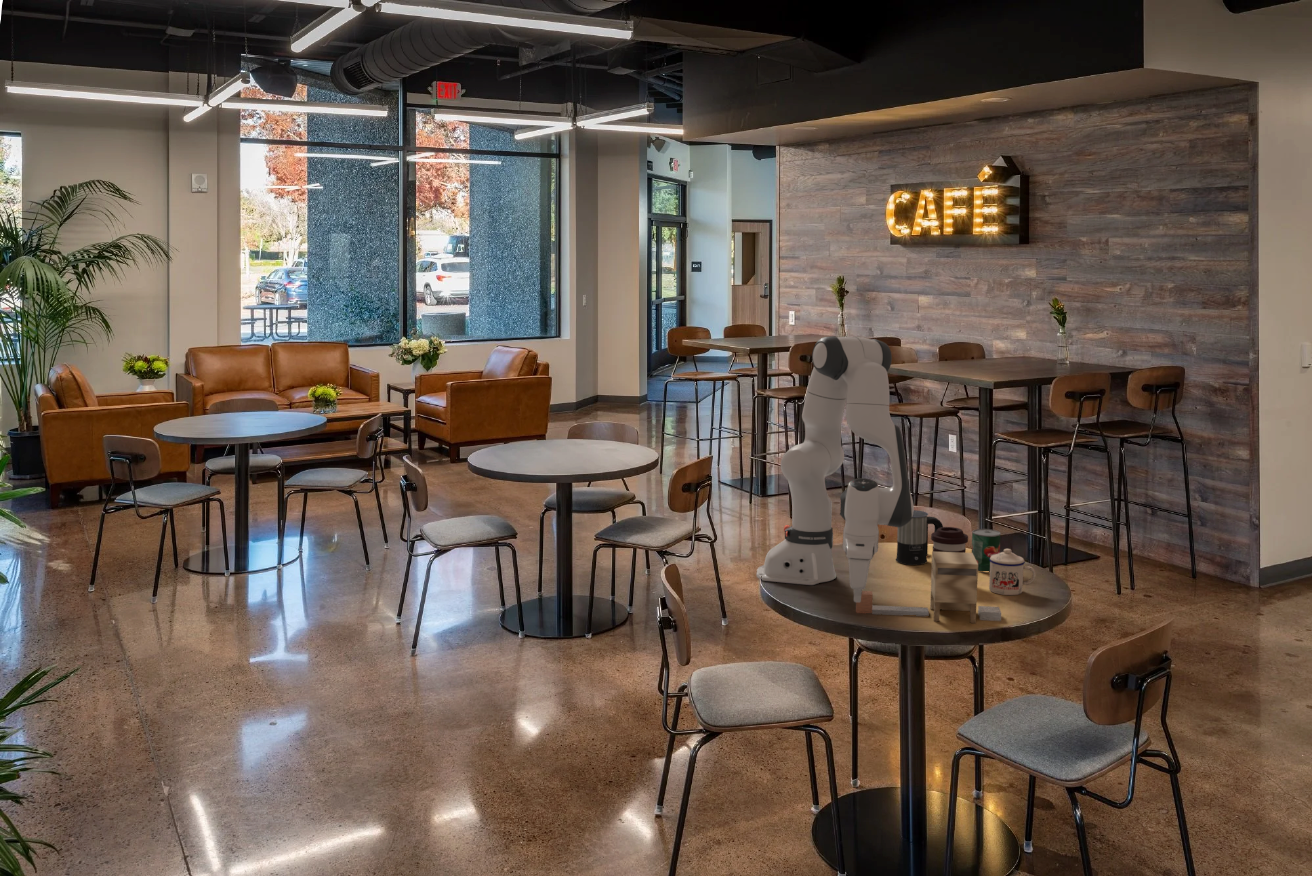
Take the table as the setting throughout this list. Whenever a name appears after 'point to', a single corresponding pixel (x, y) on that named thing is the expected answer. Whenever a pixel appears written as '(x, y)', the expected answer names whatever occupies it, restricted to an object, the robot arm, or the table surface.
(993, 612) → the block
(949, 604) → the cabinet
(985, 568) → the canned tomato
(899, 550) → the milk frother
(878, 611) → the blade tool
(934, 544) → the coffee cup
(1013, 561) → the teacup with lid
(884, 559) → the table surface
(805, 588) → the table surface
